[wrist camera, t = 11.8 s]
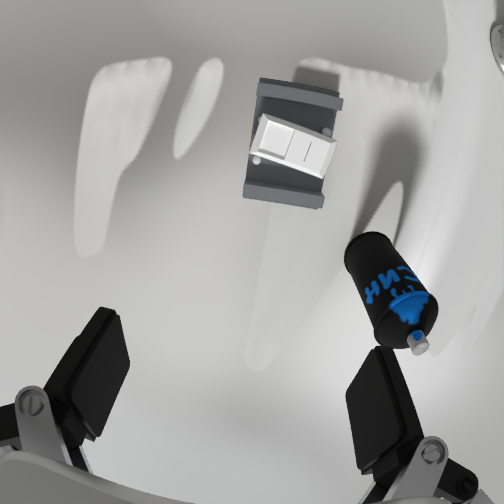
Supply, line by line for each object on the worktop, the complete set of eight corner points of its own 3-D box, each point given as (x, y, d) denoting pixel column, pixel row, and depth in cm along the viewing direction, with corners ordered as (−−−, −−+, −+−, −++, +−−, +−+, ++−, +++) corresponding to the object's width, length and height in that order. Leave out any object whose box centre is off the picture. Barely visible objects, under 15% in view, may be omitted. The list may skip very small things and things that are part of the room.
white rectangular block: (320, 175, 33) (324, 180, 31) (250, 151, 32) (248, 154, 30) (334, 139, 31) (339, 141, 29) (263, 113, 30) (262, 112, 28)
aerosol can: (396, 267, 42) (452, 356, 24) (351, 285, 44) (387, 384, 26) (386, 222, 38) (456, 304, 21) (337, 242, 40) (379, 339, 23)
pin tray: (260, 78, 31) (259, 74, 27) (337, 93, 31) (344, 91, 28) (243, 195, 38) (241, 203, 35) (316, 207, 38) (320, 215, 35)
